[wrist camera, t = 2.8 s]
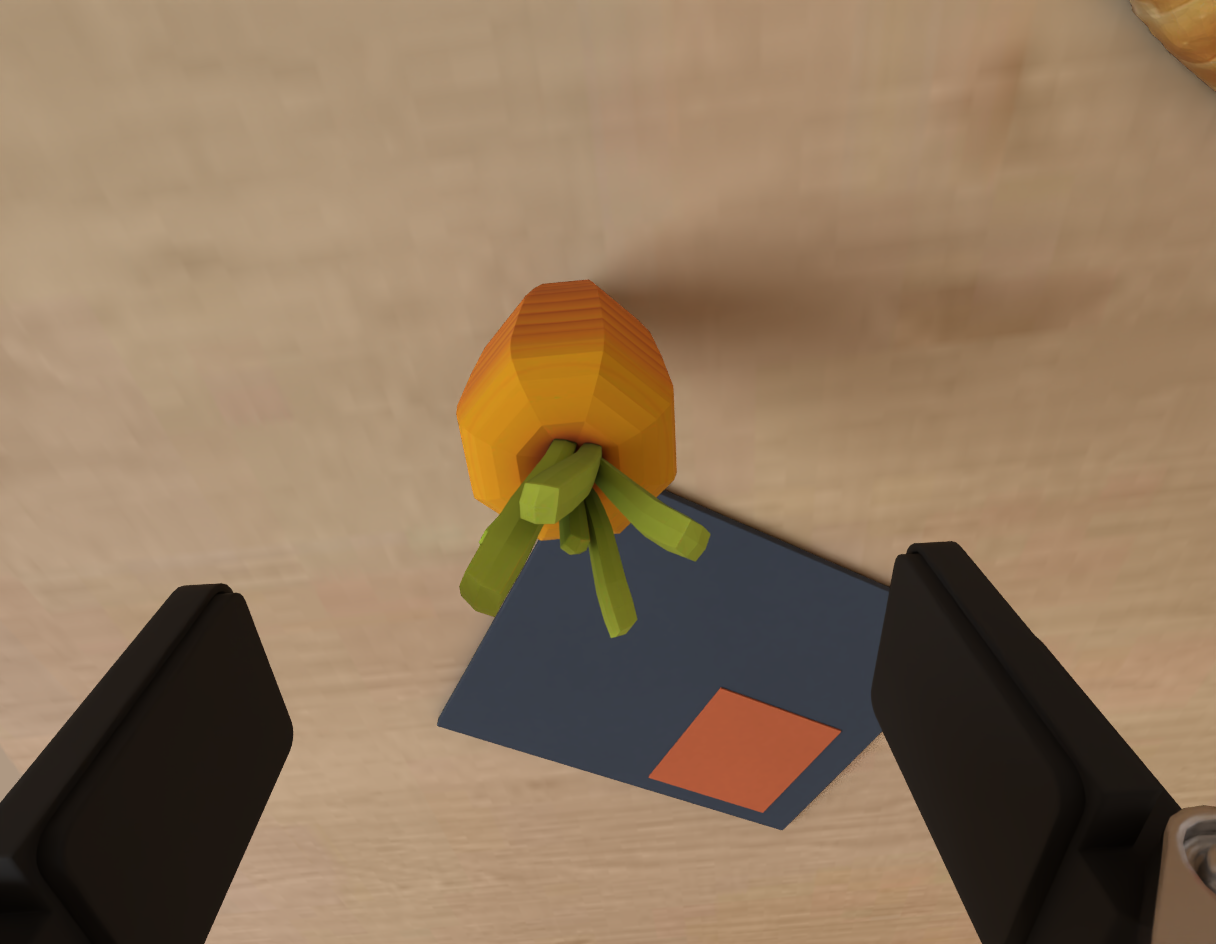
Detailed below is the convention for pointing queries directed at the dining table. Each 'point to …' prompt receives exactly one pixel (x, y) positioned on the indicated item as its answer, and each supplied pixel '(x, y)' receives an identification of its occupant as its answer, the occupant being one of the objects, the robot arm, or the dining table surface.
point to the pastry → (1184, 32)
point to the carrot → (571, 444)
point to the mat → (686, 669)
